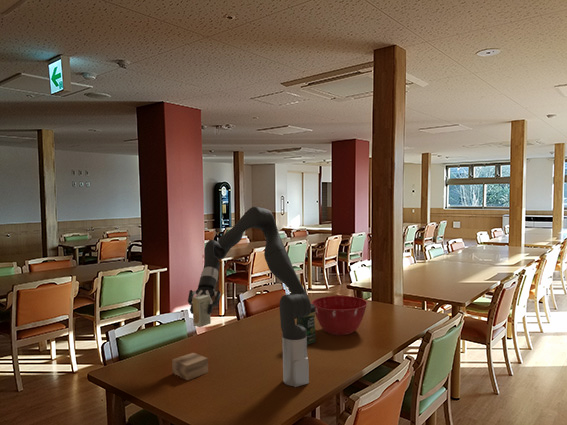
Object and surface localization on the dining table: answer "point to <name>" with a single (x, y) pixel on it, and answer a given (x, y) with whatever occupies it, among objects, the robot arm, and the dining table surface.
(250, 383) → the dining table surface
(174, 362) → the streaked beige block
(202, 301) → the skincare box
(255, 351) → the dining table surface
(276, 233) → the robot arm
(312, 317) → the coffee jar
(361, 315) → the mixing bowl
